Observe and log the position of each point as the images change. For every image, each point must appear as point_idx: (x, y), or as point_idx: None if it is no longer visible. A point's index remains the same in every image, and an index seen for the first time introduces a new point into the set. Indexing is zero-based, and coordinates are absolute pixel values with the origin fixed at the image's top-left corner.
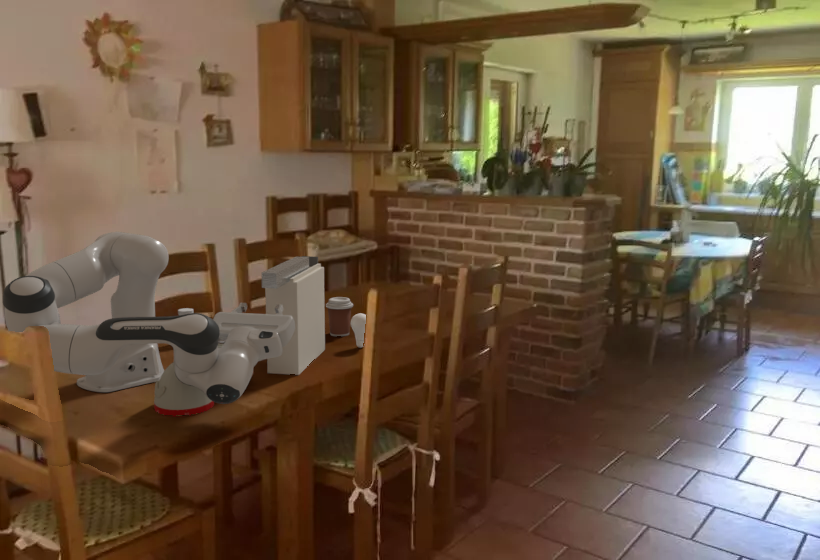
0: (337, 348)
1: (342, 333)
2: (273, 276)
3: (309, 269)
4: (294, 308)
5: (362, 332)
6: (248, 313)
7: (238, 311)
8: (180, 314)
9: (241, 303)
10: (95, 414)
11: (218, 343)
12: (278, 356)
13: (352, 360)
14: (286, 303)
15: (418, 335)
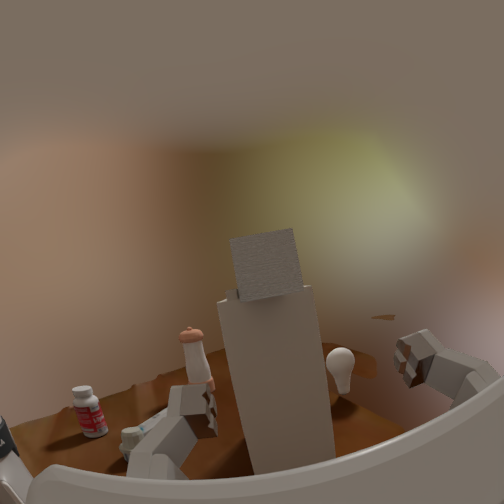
0: None
1: None
2: (282, 244)
3: None
4: (315, 360)
5: (349, 373)
6: (292, 473)
7: (175, 447)
8: (75, 395)
9: (179, 391)
10: None
11: (134, 444)
12: None
13: (372, 417)
14: (290, 352)
15: (373, 358)
